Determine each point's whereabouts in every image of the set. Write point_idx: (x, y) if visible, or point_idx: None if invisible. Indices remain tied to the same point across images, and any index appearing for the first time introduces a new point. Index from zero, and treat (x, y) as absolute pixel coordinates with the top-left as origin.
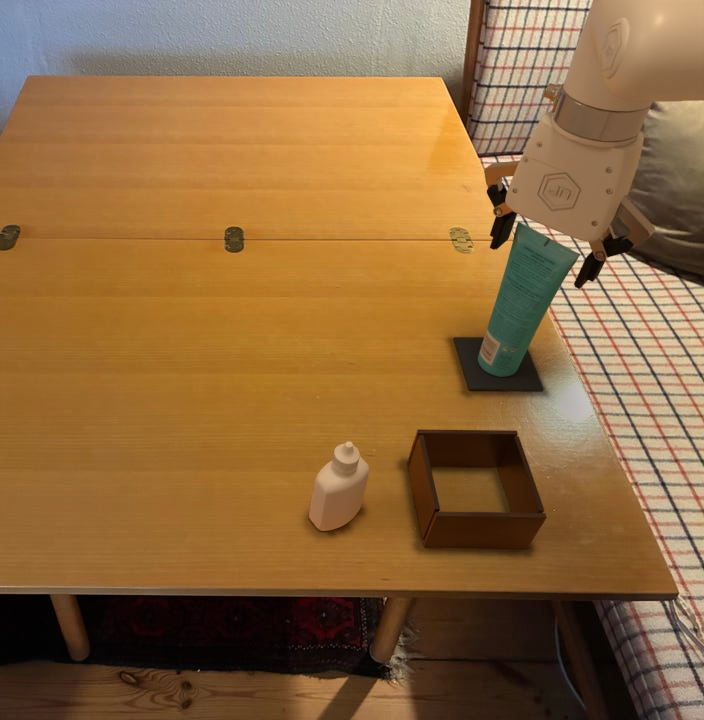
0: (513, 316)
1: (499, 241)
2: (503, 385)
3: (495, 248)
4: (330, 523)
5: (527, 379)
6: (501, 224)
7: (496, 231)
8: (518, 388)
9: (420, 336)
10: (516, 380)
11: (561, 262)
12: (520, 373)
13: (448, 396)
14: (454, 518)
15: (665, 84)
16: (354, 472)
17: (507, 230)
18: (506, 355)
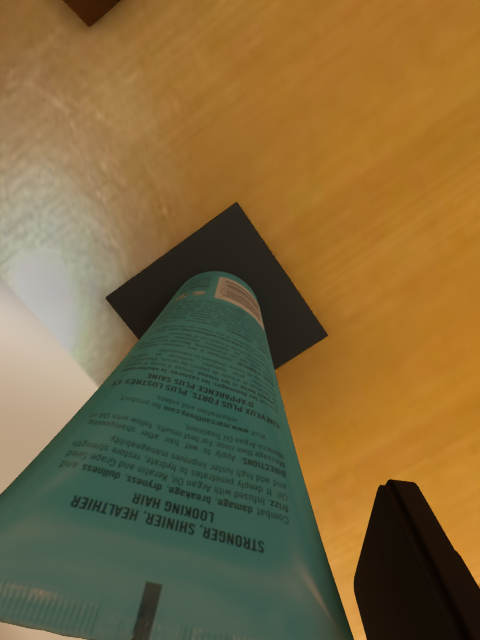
0: (201, 332)
1: (393, 524)
2: (179, 257)
3: (386, 487)
4: None
5: (145, 305)
6: (466, 619)
7: (453, 564)
8: (149, 267)
9: (394, 299)
10: (162, 289)
11: (33, 518)
12: None
13: (268, 157)
14: None
15: None
16: None
17: (389, 613)
18: (192, 289)
